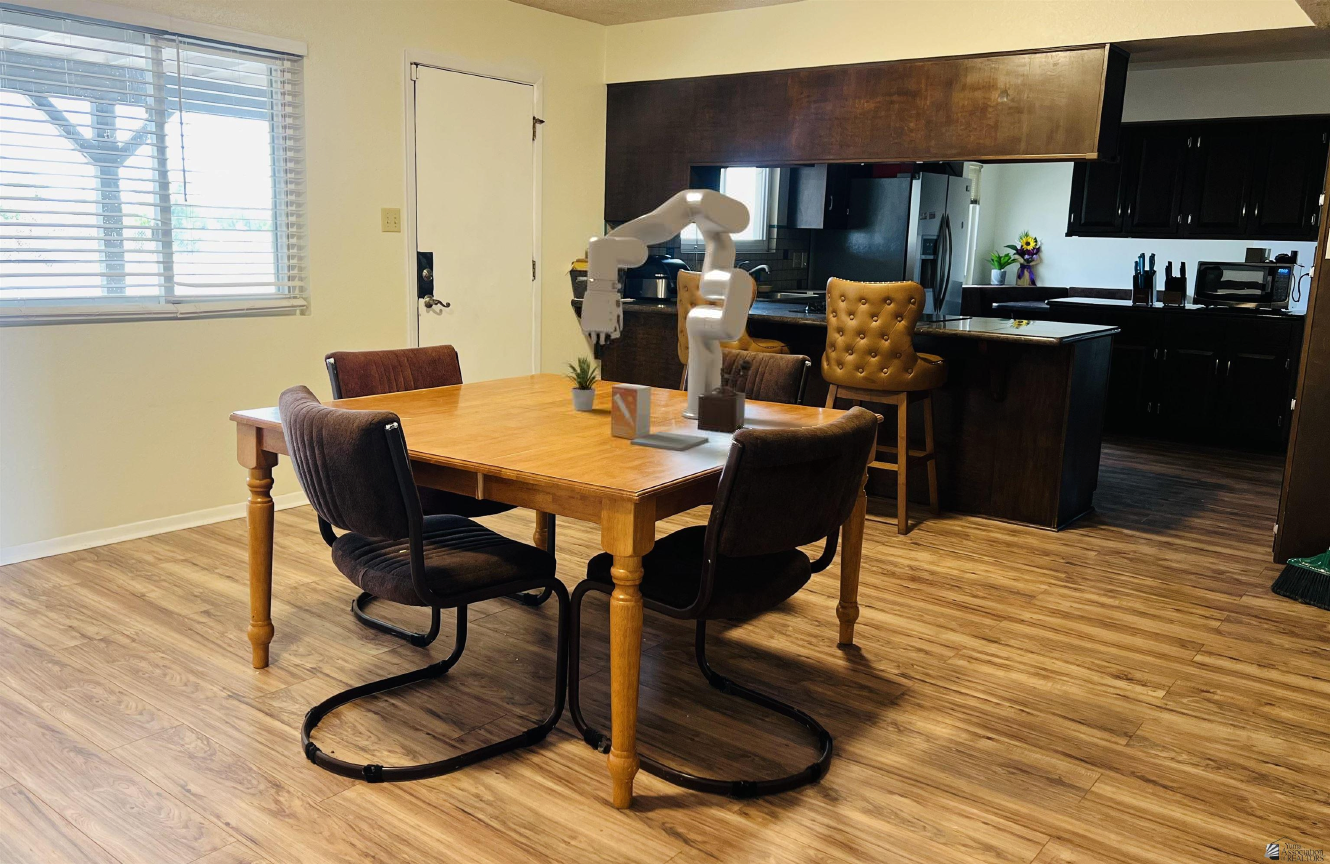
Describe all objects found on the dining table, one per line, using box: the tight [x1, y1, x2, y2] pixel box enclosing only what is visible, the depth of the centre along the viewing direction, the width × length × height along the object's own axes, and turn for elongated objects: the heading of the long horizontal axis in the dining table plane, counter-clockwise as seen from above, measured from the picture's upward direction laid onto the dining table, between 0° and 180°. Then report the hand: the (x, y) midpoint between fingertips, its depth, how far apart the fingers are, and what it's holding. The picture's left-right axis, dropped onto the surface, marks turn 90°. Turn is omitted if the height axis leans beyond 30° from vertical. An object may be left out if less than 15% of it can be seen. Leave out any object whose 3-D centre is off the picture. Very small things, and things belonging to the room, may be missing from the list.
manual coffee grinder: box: [697, 359, 754, 434], centre depth 276 cm, size 16×11×18 cm
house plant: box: [561, 354, 603, 412], centre depth 298 cm, size 14×14×16 cm
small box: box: [610, 383, 652, 440], centre depth 260 cm, size 8×6×13 cm
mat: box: [629, 431, 709, 452], centre depth 255 cm, size 15×14×1 cm
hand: (600, 359), depth 261 cm, fingers closed
